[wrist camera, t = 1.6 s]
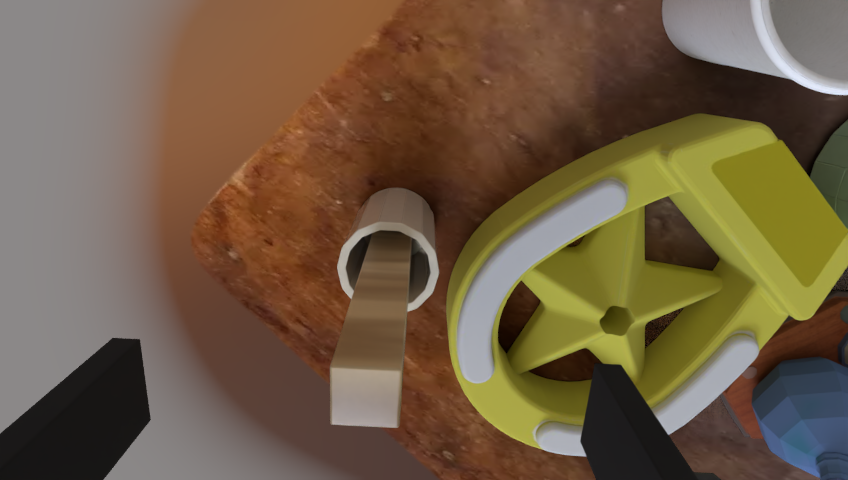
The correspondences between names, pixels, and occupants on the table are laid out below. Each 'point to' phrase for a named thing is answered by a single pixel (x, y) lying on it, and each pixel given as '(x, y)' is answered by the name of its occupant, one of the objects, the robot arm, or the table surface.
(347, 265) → the holder
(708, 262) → the table surface
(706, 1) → the dixie cup
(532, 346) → the toy steering wheel
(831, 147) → the bowl
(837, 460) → the model
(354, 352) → the stick
